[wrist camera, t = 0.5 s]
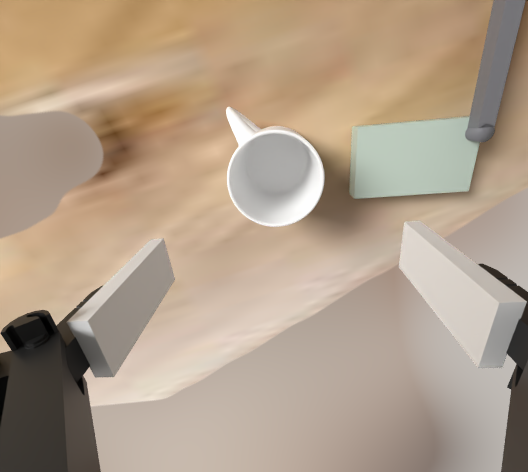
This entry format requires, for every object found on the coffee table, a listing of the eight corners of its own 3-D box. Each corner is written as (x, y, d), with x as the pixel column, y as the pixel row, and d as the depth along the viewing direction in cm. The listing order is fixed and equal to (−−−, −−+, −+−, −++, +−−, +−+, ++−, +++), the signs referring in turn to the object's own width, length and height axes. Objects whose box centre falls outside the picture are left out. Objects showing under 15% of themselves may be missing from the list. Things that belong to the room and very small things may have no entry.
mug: (266, 82, 30) (260, 65, 20) (324, 169, 33) (343, 192, 24) (209, 132, 32) (179, 139, 22) (269, 208, 36) (265, 243, 26)
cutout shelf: (366, -196, 21) (385, -262, 18) (542, -228, 20) (601, -305, 17) (349, 193, 34) (357, 202, 31) (456, 185, 33) (478, 194, 30)
